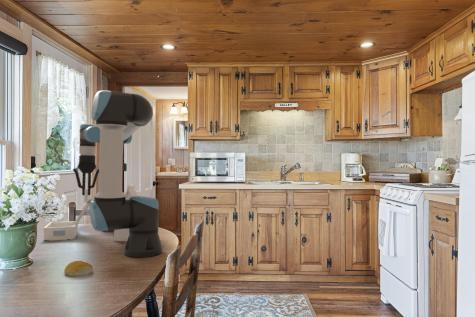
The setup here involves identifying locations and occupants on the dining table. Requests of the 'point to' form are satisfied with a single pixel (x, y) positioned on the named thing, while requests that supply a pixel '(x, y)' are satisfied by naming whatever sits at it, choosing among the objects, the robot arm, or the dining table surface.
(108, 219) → the robot arm
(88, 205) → the lid
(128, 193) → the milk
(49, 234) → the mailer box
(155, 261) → the dining table surface
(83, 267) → the bread roll
